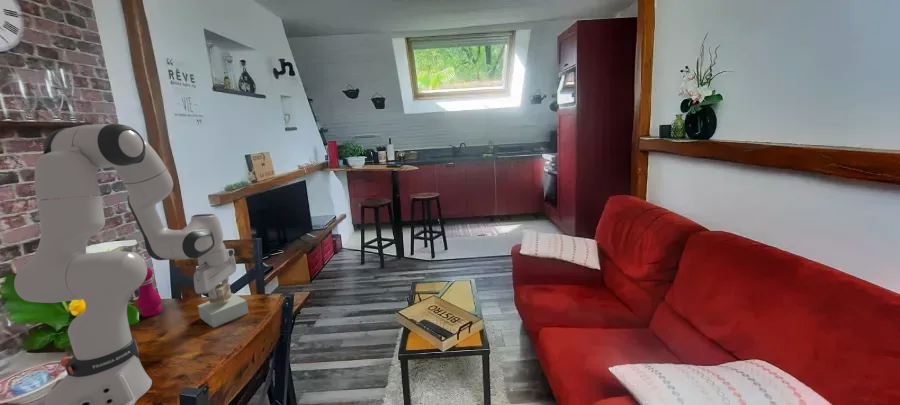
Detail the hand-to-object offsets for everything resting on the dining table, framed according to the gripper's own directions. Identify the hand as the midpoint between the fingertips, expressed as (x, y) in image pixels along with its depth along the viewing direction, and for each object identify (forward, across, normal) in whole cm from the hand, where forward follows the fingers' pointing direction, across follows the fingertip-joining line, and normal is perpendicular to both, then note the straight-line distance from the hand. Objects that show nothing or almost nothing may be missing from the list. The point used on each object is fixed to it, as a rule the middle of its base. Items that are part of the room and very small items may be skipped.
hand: (220, 294), depth 140 cm
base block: (+9, 0, 0) cm, 9 cm away
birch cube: (+2, 0, 0) cm, 2 cm away
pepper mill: (+9, +7, +31) cm, 33 cm away
